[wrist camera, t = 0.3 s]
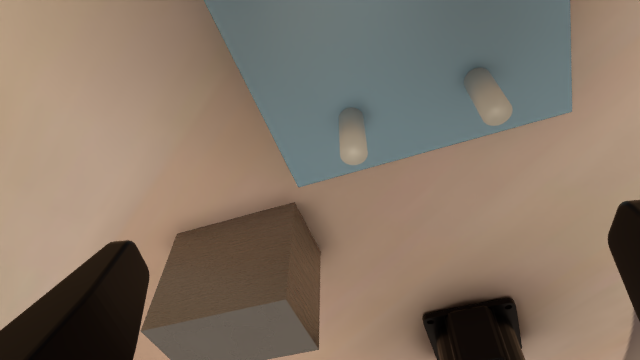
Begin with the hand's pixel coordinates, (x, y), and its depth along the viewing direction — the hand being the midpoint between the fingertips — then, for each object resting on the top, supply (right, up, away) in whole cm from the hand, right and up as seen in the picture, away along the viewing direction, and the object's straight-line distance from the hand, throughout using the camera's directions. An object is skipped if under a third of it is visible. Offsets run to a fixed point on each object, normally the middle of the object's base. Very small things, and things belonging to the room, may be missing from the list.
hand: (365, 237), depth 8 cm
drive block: (-5, -3, +20) cm, 21 cm away
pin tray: (+2, +8, +11) cm, 14 cm away
